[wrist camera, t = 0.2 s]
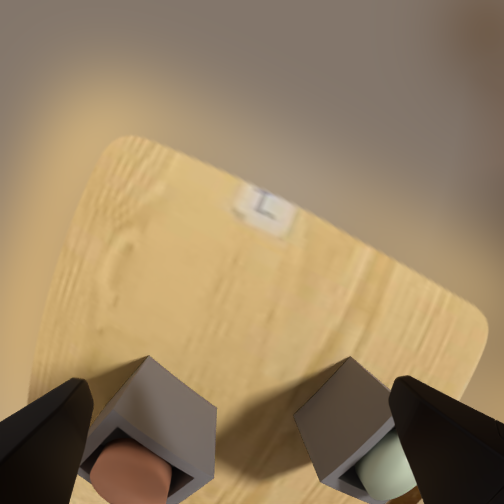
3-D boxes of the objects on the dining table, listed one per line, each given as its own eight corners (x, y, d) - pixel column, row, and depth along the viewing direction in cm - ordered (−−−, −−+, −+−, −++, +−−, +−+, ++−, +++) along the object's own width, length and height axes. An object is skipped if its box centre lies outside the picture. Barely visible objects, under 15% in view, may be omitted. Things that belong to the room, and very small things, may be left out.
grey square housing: (168, 452, 23) (151, 521, 14) (105, 405, 23) (64, 463, 14) (217, 407, 24) (214, 477, 15) (148, 355, 23) (112, 409, 14)
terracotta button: (148, 497, 15) (141, 521, 13) (91, 459, 15) (78, 481, 12) (186, 468, 15) (182, 494, 13) (124, 425, 15) (112, 448, 13)
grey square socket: (344, 447, 25) (380, 507, 16) (293, 415, 24) (320, 482, 15) (396, 395, 25) (449, 441, 16) (350, 356, 24) (402, 403, 15)
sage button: (378, 486, 17) (392, 506, 14) (341, 467, 16) (353, 490, 14) (424, 442, 17) (441, 459, 14) (392, 419, 16) (410, 437, 14)
